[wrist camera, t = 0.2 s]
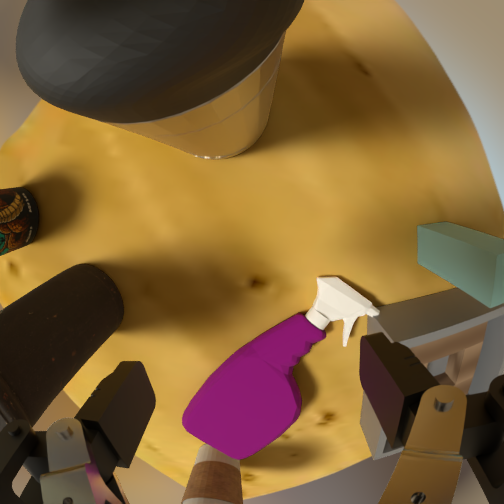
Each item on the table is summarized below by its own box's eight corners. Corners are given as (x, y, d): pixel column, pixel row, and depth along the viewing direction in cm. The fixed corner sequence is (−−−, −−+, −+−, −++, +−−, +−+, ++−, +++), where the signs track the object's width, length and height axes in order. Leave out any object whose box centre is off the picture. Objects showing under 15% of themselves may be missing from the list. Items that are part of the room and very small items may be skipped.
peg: (417, 225, 26) (496, 255, 14) (446, 221, 26) (525, 247, 14) (417, 263, 27) (490, 308, 15) (445, 257, 27) (519, 296, 15)
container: (73, 245, 27) (-76, 321, 7) (139, 290, 28) (16, 426, 8) (56, 305, 29) (-55, 397, 9) (114, 347, 30) (24, 474, 10)
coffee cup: (187, 461, 35) (171, 540, 20) (193, 431, 33) (172, 523, 18) (241, 471, 35) (237, 550, 20) (254, 442, 33) (253, 535, 18)
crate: (367, 309, 28) (394, 343, 21) (488, 278, 27) (523, 297, 20) (359, 423, 32) (373, 460, 25) (464, 386, 31) (485, 413, 24)
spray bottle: (178, 410, 31) (306, 252, 29) (249, 453, 31) (385, 313, 28) (170, 423, 28) (309, 254, 26) (246, 468, 28) (394, 321, 25)
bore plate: (395, 332, 28) (406, 346, 25) (474, 308, 27) (488, 318, 24) (385, 408, 30) (392, 423, 27) (457, 382, 30) (467, 394, 27)
